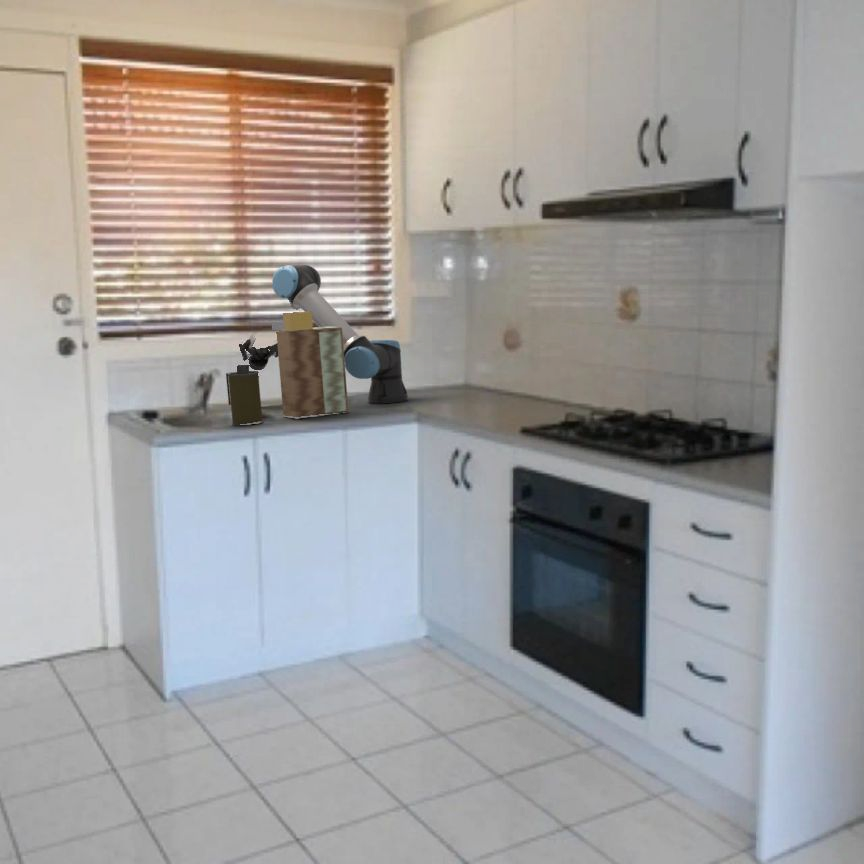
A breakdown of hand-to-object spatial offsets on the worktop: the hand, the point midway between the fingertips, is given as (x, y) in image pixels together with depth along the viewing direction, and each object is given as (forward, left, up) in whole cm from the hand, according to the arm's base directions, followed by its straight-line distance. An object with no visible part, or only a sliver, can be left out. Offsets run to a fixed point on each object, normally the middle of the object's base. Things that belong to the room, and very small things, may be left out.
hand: (271, 334), depth 368 cm
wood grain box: (-5, +22, -28) cm, 36 cm away
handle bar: (0, +15, +2) cm, 15 cm away
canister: (+20, +20, -29) cm, 40 cm away
